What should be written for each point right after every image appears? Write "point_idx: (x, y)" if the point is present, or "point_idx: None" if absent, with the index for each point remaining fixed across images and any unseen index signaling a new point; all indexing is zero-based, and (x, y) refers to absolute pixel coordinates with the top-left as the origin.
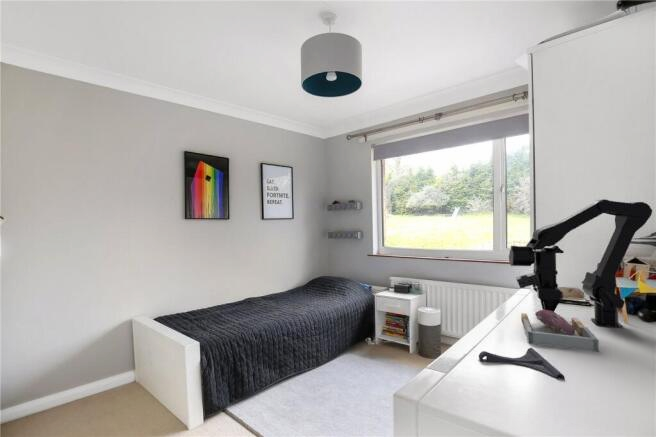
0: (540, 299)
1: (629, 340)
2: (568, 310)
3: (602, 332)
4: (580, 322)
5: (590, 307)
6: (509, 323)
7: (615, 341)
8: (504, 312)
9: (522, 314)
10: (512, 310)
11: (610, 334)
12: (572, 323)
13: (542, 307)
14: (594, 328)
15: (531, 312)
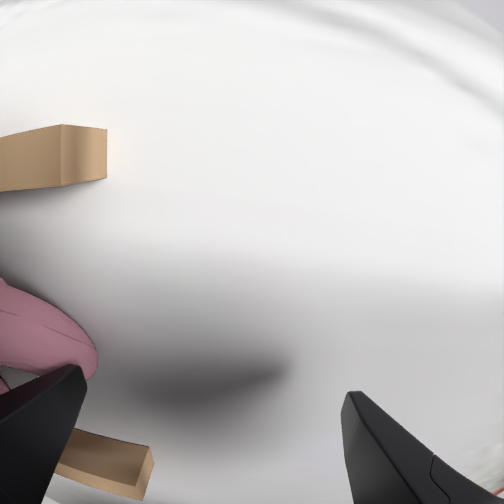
0: (400, 475)
1: (75, 499)
2: (482, 449)
3: None
4: (58, 473)
5: (497, 482)
6: (19, 53)
7: None
8: (392, 8)
9: (15, 142)
10: (490, 109)
11: (106, 496)
12: (120, 457)
13: (355, 410)
14: (161, 495)
15: (465, 271)
